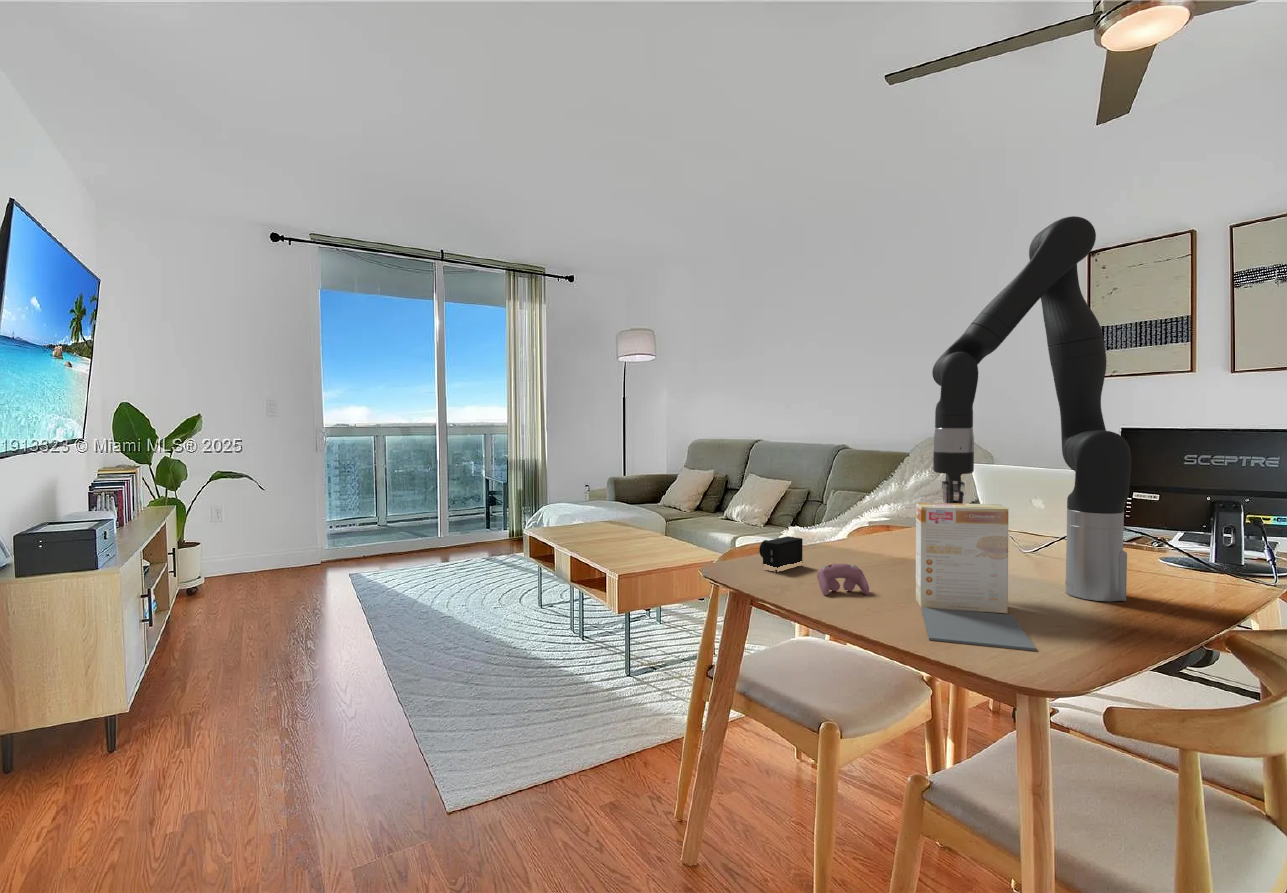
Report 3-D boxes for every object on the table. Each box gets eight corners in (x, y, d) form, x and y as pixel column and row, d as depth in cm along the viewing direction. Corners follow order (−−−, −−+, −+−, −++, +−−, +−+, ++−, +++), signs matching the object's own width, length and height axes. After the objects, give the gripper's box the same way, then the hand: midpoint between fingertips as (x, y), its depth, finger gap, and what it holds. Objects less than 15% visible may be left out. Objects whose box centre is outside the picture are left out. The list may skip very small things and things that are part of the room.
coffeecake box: (997, 603, 121) (999, 503, 120) (1008, 614, 114) (1010, 508, 113) (914, 598, 125) (915, 501, 124) (920, 608, 118) (920, 506, 117)
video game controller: (864, 598, 130) (858, 565, 133) (872, 593, 126) (866, 559, 129) (817, 599, 130) (813, 566, 133) (824, 594, 126) (819, 560, 129)
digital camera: (784, 562, 157) (784, 535, 157) (802, 566, 153) (802, 537, 153) (758, 569, 150) (758, 540, 150) (777, 573, 146) (777, 543, 146)
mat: (1012, 617, 112) (1012, 614, 112) (1036, 650, 96) (1036, 648, 96) (921, 609, 117) (921, 607, 117) (929, 639, 101) (929, 637, 101)
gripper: (978, 451, 121) (977, 540, 122) (969, 448, 134) (968, 528, 134) (936, 451, 124) (935, 537, 125) (931, 448, 136) (930, 527, 137)
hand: (952, 533), depth 130 cm, fingers closed
